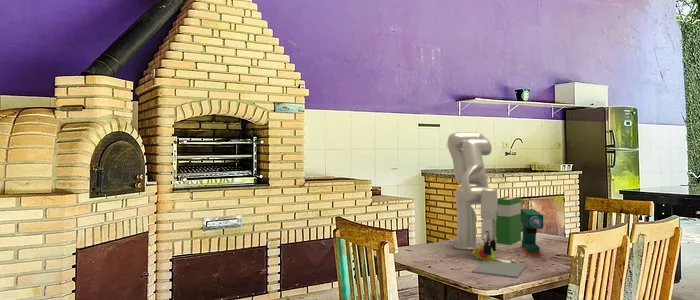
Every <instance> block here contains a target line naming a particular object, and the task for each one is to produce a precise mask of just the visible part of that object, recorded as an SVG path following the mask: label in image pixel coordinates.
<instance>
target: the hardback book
mask: <svg viewBox="0 0 700 300" xmlns="http://www.w3.org/2000/svg"><path fill="white" fill-rule="evenodd" d="M497 198H498V197H497ZM521 209H522V196H517V197H510V196H503V197H499V198H498V219H496V238H495V240H496V244H497V243H498V245H500V244H501V245H505V246H512V245H513V244H516V243H517V242H519V241H522V222H521Z"/></svg>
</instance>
